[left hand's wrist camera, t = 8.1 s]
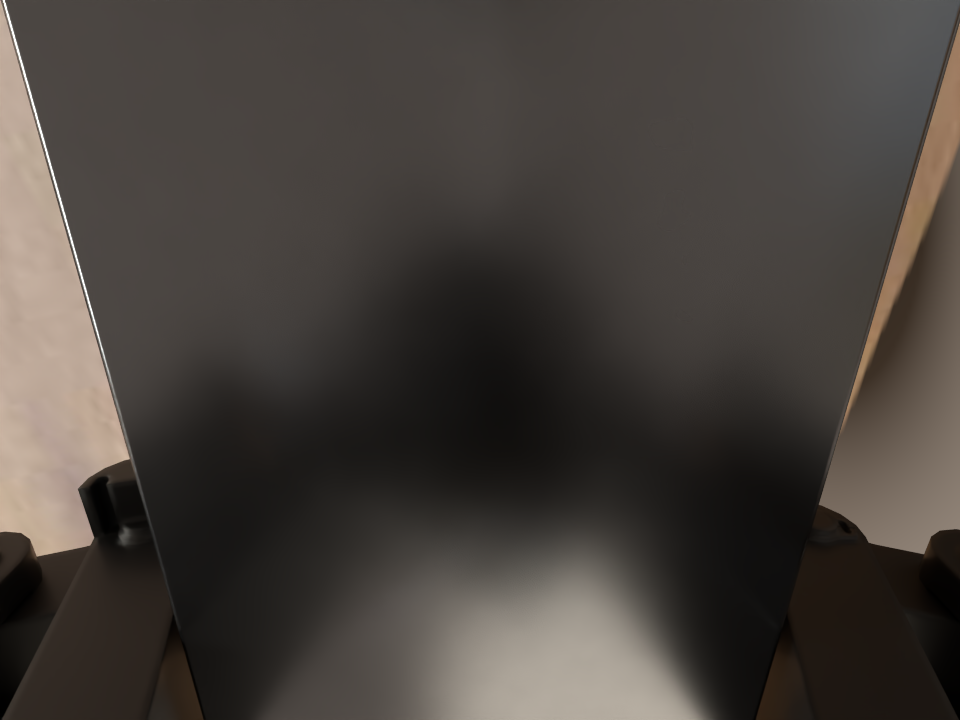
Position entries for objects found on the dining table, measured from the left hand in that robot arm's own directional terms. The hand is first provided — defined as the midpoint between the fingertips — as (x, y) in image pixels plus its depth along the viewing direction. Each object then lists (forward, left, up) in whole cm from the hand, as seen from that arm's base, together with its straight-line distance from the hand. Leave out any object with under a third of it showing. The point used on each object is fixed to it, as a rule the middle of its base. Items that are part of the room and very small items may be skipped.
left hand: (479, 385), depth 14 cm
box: (+7, +2, -1) cm, 7 cm away
